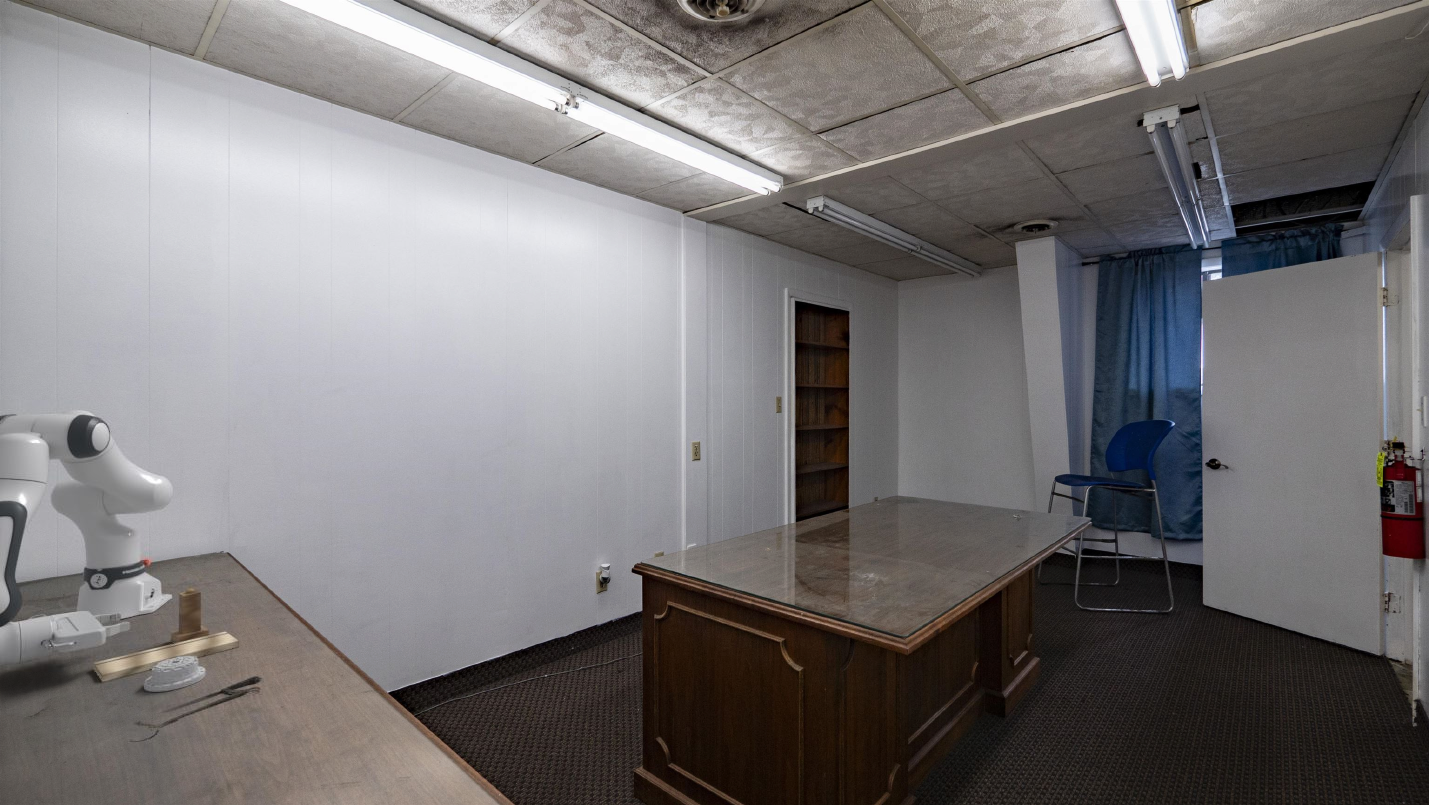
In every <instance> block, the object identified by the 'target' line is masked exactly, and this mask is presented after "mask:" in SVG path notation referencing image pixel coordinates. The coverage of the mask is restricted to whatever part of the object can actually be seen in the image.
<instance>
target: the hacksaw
mask: <svg viewBox="0 0 1429 805" xmlns="http://www.w3.org/2000/svg"><path fill="white" fill-rule="evenodd" d="M262 679H263V678H262V677H260V676H257V675H256V676H252V677H249V678H247V679H245V680H242V681H239V682H237V683H234V684H232V685H229V686H226V687H224V688H221V690H219V691H216V692H212V693H209V694H207V695H205V696H202V697H199V698H196V699H193V700H190V701H189V702H185V703H182V704H179V705H177V706H175V707H172V708H169V709H166V710H164V711H161V712H160V714H163V713H170V712H172V711H176V710H179V709H182V708H184V707H186V706H190V705H193V704H197V703H199V702H201V701H204V700H208V699H210V698H212V697H215V696H218V695H220V694H224V695H226V694H229V695H227V696H224V697H222V698H220V699H217V700H214V701H213V702H211V703H208V704H205V705H202V706H200V707H197V708H195V709H193V710H190V711H187V712H185V713H182V714H180V715H177V716H175V717H173V718H170V719H169V720H165V721H164V722H161V723H159V724H157V725H155V724H152V723H143V722H141V721H140V720H139V721H135V722H134V725H136V726H143V727H144V726H145V727H146V726H147V727H148V729H149V728H155V729H156V730H155V733H154V734H153V735H152V736H150V737H148V738H145V739H142V740H135V741H134V740H132V739H129V741H130V742H131V743H137V742H138V743H139V742H144V741H148V740H150V739H152V737H153V738H154V736H155V735H156V736H157V735H158V734H159V731H160V730H158V729H157V728H161V729H162V728H163V727H165V726H168V725H170V724H173V723H176V722H178V721H179V720H180V719H183V718H185V717H184V716H186V717H187V716H190V715H192V714H196V713H198V712H202V711H204V710H206V709H205V708H207V709H209V708H212V707H215V706H218V705H219V703H220V704H222V702H223V703H225V702H228V701H229V700H233V699H235V698H238V697H240V696H242V695H246V696H247V693H248V695H251V694H254V693H256V692H258V691H260V690H261V688H260V687H259V686H255V687H253V686H252V687H250V688H245V689H241V688H243V687H245V686H249V685H253V684H254V685H255V684H257V682H258V683H259V682H260V681H261V680H262ZM254 689H255V691H253V692H249V691H252V690H254ZM217 704H218V705H217ZM214 705H215V706H214ZM211 706H212V707H211ZM203 709H204V710H203ZM201 710H202V711H201ZM195 712H196V713H195ZM150 731H152V729H151V730H150ZM157 733H158V734H157ZM156 736H155V737H156ZM147 739H148V740H147Z"/></svg>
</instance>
